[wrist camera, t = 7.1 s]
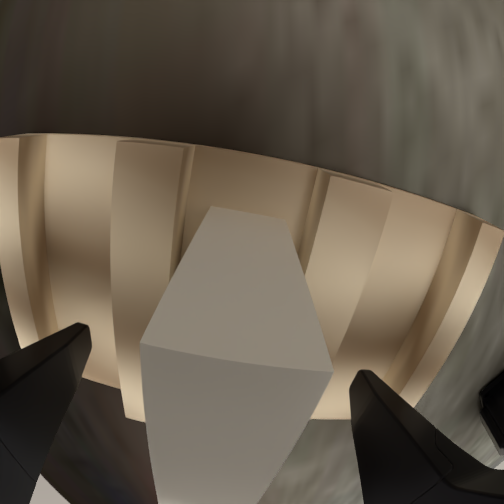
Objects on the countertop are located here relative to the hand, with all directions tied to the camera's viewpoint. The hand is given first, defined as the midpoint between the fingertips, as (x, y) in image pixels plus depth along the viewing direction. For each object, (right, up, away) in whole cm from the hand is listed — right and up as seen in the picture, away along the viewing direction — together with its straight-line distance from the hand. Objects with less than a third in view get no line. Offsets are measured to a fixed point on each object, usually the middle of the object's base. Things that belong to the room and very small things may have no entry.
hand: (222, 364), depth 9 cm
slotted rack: (0, +1, +3) cm, 3 cm away
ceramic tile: (0, +1, +3) cm, 3 cm away
